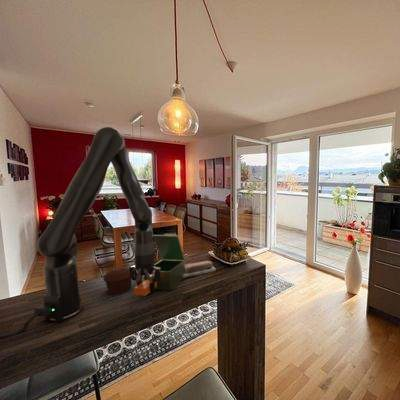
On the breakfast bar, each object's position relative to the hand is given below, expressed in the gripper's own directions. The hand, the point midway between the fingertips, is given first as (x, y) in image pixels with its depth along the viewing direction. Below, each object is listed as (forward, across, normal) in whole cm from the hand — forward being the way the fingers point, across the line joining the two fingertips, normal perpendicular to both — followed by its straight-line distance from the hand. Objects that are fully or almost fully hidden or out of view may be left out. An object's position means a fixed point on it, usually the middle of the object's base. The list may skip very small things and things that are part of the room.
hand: (146, 289), depth 100 cm
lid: (-13, +1, +17) cm, 22 cm away
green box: (+3, +1, +13) cm, 14 cm away
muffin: (+3, -17, +4) cm, 17 cm away
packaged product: (+3, +11, +27) cm, 30 cm away
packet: (0, 0, 0) cm, 0 cm away
